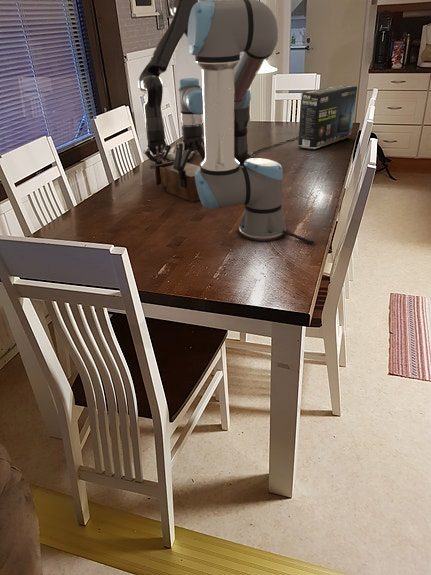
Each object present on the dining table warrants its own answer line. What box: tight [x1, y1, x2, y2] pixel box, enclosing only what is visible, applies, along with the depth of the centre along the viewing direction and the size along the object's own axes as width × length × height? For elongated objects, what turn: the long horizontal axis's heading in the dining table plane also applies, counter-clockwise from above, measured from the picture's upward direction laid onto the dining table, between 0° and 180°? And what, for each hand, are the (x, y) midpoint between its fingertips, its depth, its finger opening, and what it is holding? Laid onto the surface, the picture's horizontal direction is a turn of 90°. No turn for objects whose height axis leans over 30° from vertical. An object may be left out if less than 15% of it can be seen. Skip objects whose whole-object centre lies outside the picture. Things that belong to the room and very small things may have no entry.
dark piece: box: [149, 160, 174, 187], centre depth 190 cm, size 22×9×8 cm, turn 40°
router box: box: [297, 84, 358, 151], centre depth 238 cm, size 36×11×27 cm, turn 134°
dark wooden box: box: [164, 162, 200, 203], centre depth 182 cm, size 18×10×10 cm, turn 40°
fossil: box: [165, 144, 199, 161], centre depth 229 cm, size 18×11×15 cm
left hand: (159, 170), depth 195 cm, fingers closed
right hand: (195, 183), depth 179 cm, fingers closed on dark wooden box, 10 cm apart
